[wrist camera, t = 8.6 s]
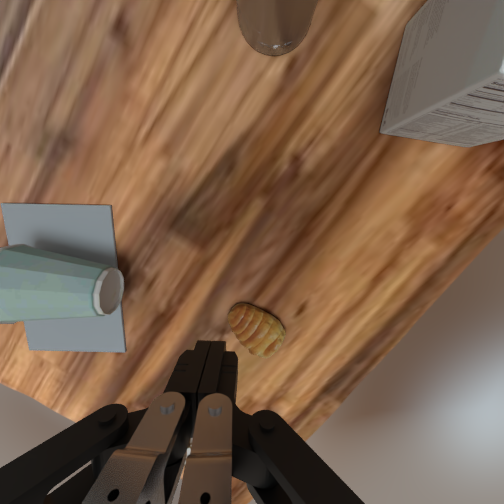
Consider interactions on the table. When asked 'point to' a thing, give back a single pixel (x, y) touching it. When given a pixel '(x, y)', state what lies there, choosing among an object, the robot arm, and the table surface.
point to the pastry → (256, 329)
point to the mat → (75, 245)
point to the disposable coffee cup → (55, 286)
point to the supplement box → (450, 75)
